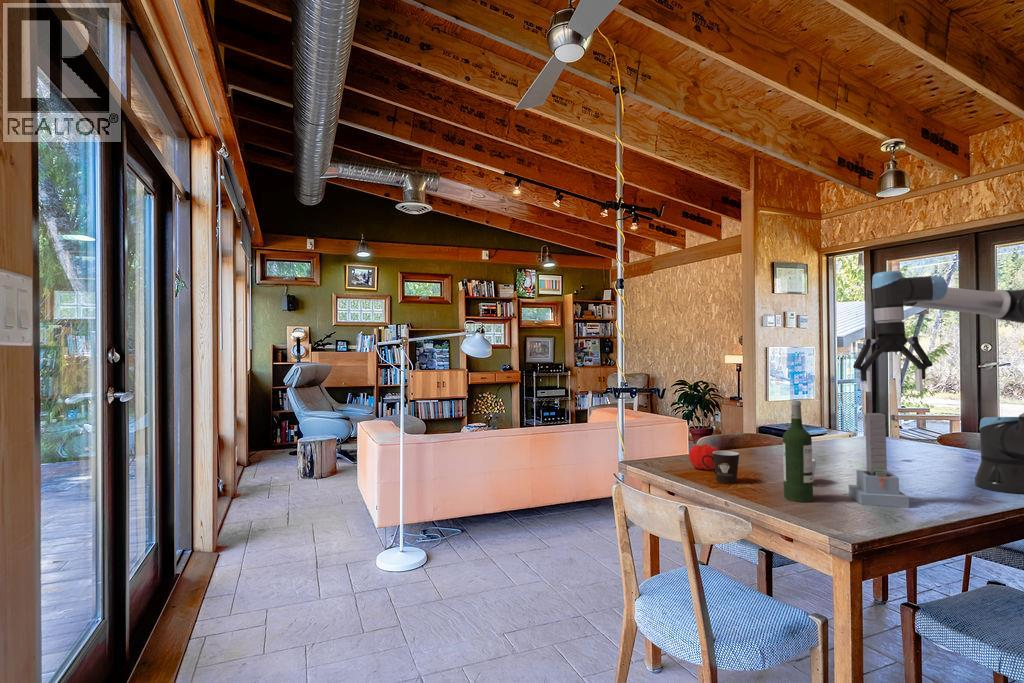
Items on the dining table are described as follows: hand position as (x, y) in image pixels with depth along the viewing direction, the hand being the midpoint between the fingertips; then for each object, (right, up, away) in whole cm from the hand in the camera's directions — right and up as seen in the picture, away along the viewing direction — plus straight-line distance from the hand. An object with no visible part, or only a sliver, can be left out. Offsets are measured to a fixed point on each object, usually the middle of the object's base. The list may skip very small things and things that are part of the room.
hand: (893, 391), depth 164 cm
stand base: (-7, -33, -3) cm, 33 cm away
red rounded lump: (-42, -34, +44) cm, 70 cm away
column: (-7, -27, -3) cm, 28 cm away
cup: (-17, -33, +19) cm, 42 cm away
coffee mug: (-43, -34, +24) cm, 60 cm away
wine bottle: (-29, -33, 0) cm, 44 cm away
